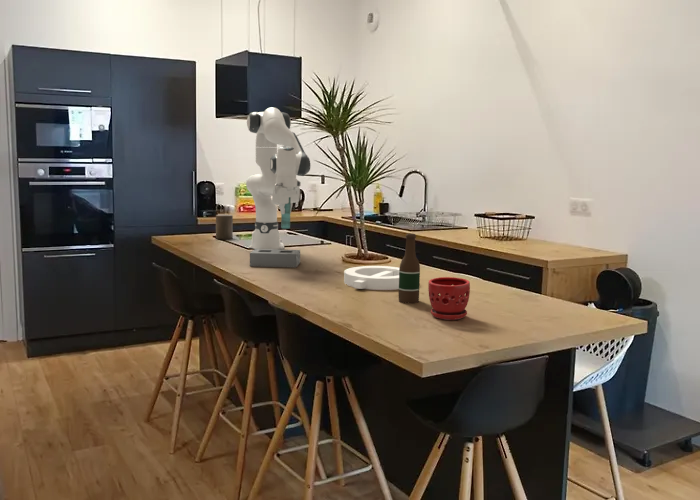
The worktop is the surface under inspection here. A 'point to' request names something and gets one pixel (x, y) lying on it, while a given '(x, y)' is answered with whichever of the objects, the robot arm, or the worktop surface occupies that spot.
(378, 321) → the worktop surface
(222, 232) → the pillar candle
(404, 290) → the beer bottle
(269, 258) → the socket block
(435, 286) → the plant pot
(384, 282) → the ring with crossbar
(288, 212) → the teal peg
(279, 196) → the robot arm
